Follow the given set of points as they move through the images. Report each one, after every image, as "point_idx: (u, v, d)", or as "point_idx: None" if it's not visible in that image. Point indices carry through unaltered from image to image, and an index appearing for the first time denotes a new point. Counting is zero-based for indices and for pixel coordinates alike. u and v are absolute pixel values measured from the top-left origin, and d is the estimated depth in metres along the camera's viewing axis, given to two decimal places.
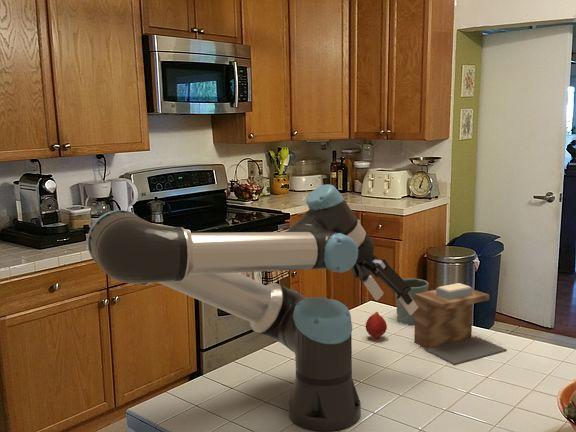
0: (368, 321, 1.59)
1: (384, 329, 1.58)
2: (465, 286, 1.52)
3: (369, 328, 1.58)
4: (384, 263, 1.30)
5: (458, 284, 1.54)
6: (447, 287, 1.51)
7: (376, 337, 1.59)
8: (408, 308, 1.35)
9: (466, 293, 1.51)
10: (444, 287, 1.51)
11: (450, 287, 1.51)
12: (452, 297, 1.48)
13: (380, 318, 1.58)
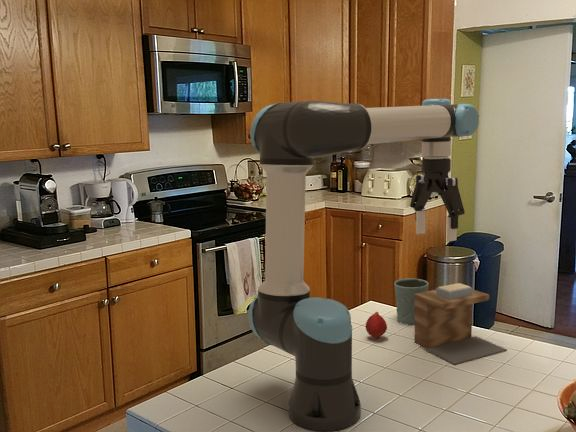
0: (368, 321, 1.59)
1: (384, 329, 1.58)
2: (465, 286, 1.52)
3: (369, 328, 1.58)
4: (455, 182, 1.48)
5: (458, 284, 1.54)
6: (447, 287, 1.51)
7: (376, 337, 1.59)
8: (450, 234, 1.50)
9: (466, 293, 1.51)
10: (444, 287, 1.51)
11: (450, 287, 1.51)
12: (452, 297, 1.48)
13: (380, 318, 1.58)
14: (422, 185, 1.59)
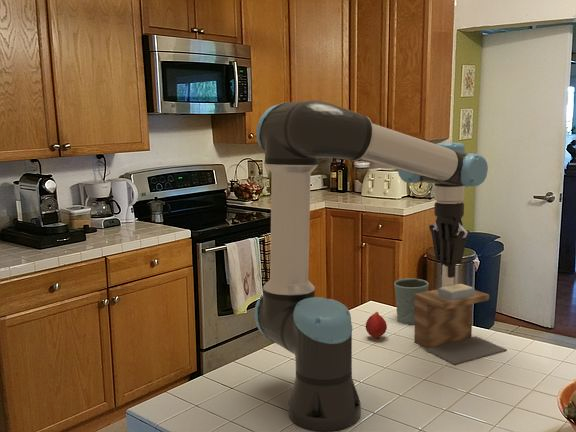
0: (368, 321, 1.59)
1: (384, 329, 1.58)
2: (467, 287, 1.51)
3: (369, 328, 1.58)
4: (466, 235, 1.47)
5: (460, 285, 1.53)
6: (449, 288, 1.50)
7: (376, 337, 1.59)
8: (447, 282, 1.53)
9: (468, 294, 1.50)
10: (446, 288, 1.51)
11: (452, 288, 1.51)
12: (454, 298, 1.48)
13: (380, 318, 1.58)
14: (438, 233, 1.56)
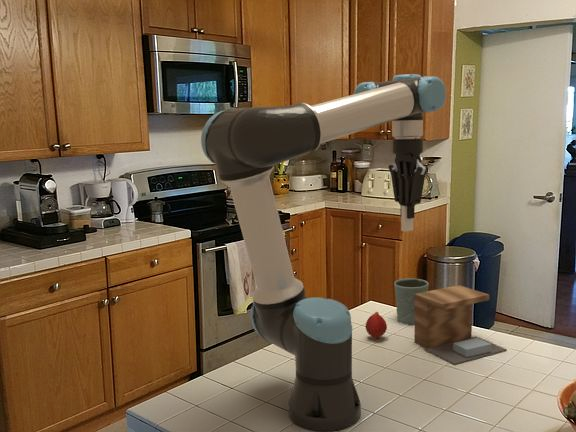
0: (368, 321, 1.59)
1: (384, 329, 1.58)
2: None
3: (369, 328, 1.58)
4: (424, 172, 1.39)
5: None
6: None
7: (376, 337, 1.59)
8: (406, 223, 1.45)
9: None
10: None
11: None
12: None
13: (380, 318, 1.58)
14: (398, 173, 1.48)
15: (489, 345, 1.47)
